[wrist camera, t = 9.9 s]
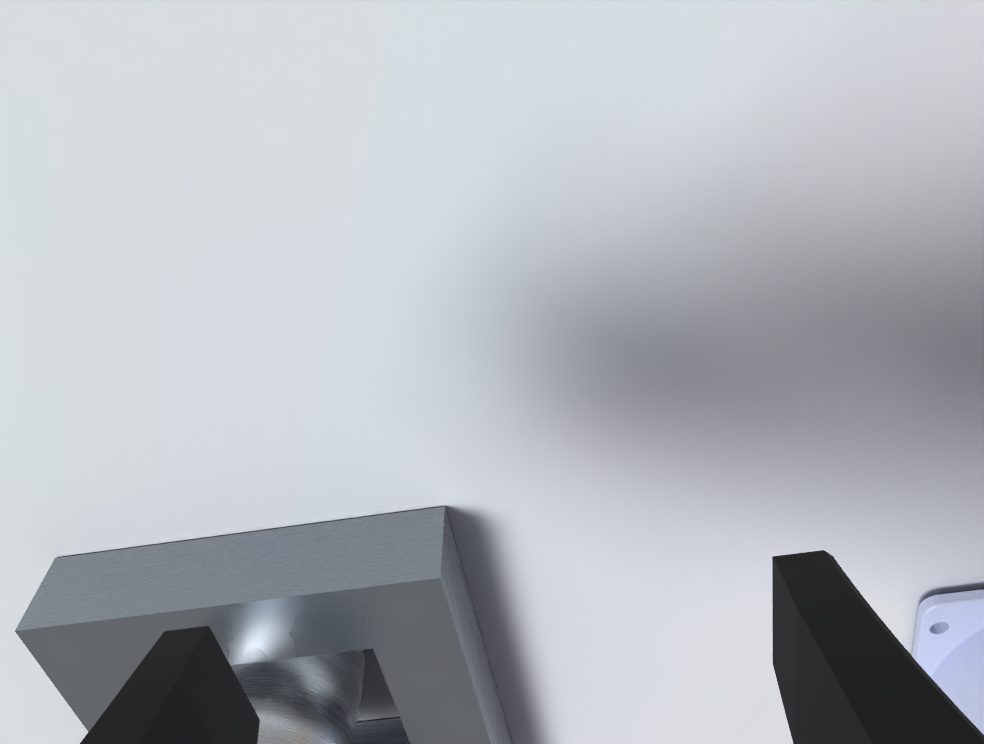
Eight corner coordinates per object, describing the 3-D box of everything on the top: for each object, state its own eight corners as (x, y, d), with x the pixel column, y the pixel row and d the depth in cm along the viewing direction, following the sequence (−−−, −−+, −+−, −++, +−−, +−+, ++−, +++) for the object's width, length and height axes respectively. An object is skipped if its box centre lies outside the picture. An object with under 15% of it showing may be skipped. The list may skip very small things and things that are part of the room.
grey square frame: (513, 747, 30) (514, 821, 28) (198, 780, 31) (177, 853, 29) (444, 506, 23) (440, 578, 21) (55, 557, 25) (15, 631, 23)
